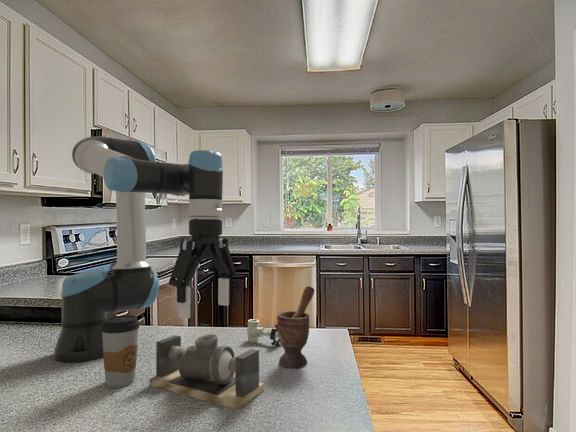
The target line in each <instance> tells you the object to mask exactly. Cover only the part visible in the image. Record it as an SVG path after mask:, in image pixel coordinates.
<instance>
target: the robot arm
mask: <svg viewBox="0 0 576 432" xmlns="http://www.w3.org/2000/svg"><path fill="white" fill-rule="evenodd" d="M155 154H156V153H155V152H154V150H153V148H152V147H151V145H150V144H148V143H145V142H141V141H137V140H131V139H130V140H129V139H122V138H114V137H108V136H101V135H96V136H88V137H85V138H82V139H80V140H79V141H77V142H76V143H75V144H74V146H73V148H72V152H71V158H72V161H73V163H74V165H76V167H77V168H79V170H81V171H83V172H84V173H87V174H90V175H91V174H93V175H98V176H100V177H102V178H103V182H104V184H105V187H106V189H108V190H109V191H111V192H115V201H116V202H115V205H116V206H115V207H116V208H115V209H116V210H115V211H116V212H115V213H116V215H115V216H116V260H117V261H116V263H115V265H113V266H112V267H111V274H108V272H107V271H106V270H103V269H102V270H101V269H100V270H99V269H98V270H91V271H85V272H80V273H75V274H73V275H70V276H66V278H64V279H63V281H62V282H61V283H62V286H61V293H60V296H61V329H60V332H59V335H58V337H57V340H56V344H55V347H54V350H53V355H54V356H53V358H54V360H55V361H58V362H63V363H69V362H70V363H73V362H75V363H77V362H85V361H91V360H95V359H98V358H101V357H102V358H103V336H102V331H101V330H102V324H103V323H104V320H105V319H106V318H108V317H107V316H108V314H113V313H119V312H126V311H133V310H137V311H138V310H140V309H145V308H149V307H151V306H152V305H153V304H154V303H155V301H156V300H157V297H158V295H159V292H160V291H159V289H160V279H159V275H158V273H157V271H155V270H153V269H152V264H150V263H149V262H148V261H147V240H146V239H147V238H146V237H147V235H146V232H147V231H146V230H147V229H146V194H160V195H161V194H162V195H172V196H177V197H178V196H180V197H185V196H189V197H188V217H190V218H191V219H189V221H188V234H189V236H191V240H181V241H180V247H179V252H178V254H177V257H176V261H175V264H174V266H173V269H172V272H171V275H170V278H169V281H168V284H169V286H173V287H175V288H176V302H177V303H178V304H177V305H178V307H177V308H178V309H177V313H178V314H177V315H178V316H177V317H178V318H183V319H190V318H191V286H189V283H190V281H191V280H192V278H193V277H194V274H195V272H196V271H197V268H198V267H199V265H200V263H202V262H203V261H204V260H205V261H206V260H208V259H209V260H210V261H211V262H212V265H213V266H214V267H215V269H216V271H217V272H218V275H219V276H220V277H219V278H218V280H217V281H218V282H217V284H218V286H217V288H218V289H217V294H218V295H217V301H218V303H217V304H218V306H226V307H227V306H228V307H229V305H230V289H231V287H230V285H231V284H230V280H231V279H234V276H235V275H236V268H235V265H234V262H233V259H232V255H231V251H230V249H229V240H228V238H227V237H226V238H224V237H223V238H221V237H220V236H222V235H223V220H222V219H220V218H222V217H223V179H224V177H223V176H224V173H223V172H224V168H223V156H222V154H221V153H220V152H218V151H213V150H205V149H204V150H203V149H200V150H199V149H198V150H197V149H196V150H193V151H191V152H190V154H189V157H188V163H186V164H183V163H182V164H180V163H173V162H172V163H170V162H162V161H157V158H156V155H155ZM219 237H220V238H219Z"/></svg>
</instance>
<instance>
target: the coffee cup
mask: <svg viewBox="0 0 576 432" xmlns="http://www.w3.org/2000/svg"><path fill="white" fill-rule="evenodd" d="M139 328H140V321H139V320H138V316H137V315H132V314H121V315H115V316H109V317H107V318H106V319H105V320H104V323H103V324H102V330H101V331H102V336H103V356H102V358H103V369H104V379H105V380H104V381H105V384H106V386H107V387H109V388H114V389H115V388H122V387H126V386H130V385H132V384H133V383H134V380H135V379H136V367H137V357H138V347H139V346H138V338H139V337H138V336H139Z"/></svg>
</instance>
